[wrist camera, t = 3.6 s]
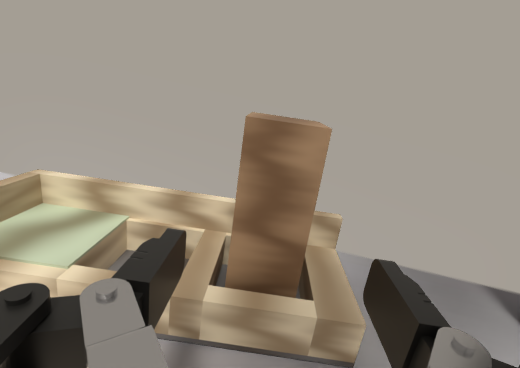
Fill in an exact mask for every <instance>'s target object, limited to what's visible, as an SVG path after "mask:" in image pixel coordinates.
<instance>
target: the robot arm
mask: <svg viewBox="0 0 520 368" xmlns="http://www.w3.org/2000/svg"><path fill="white" fill-rule="evenodd" d="M185 250H186V231H185V230H178V229H172V228H167V229H166V231H165V232H164V233H163V234H162V236H161V237H160V238H151V239H149V240H147V241H145V242H143V243H142V244H141V245H140V246H139V247H138V248H137V250H136V252H134V253H133V254H132V255H131V256H130V258H129V259H128V260H127V261H126V262H125V263H124V264H123V265H122V266H121V267H120V269H119V270H118V271H117V272H116V273H115V274H114V275H113V276H112V278H109V279H103V280H99V281H97V282H94V283H92V284H90V285H89V286H87V287H86V288H85V289H84V290H83V291H82V293H81V295H75V296H63V297H50V290H49V288H48V287H47V286H46V285H44V284H40V283H25V284H19V285H15V286H12V287H9V288H7V289H5V290H2V291H0V368H168V365H167V362H166V360H165V357H164V355H163V352H162V349H161V347H160V344H159V342H158V339H157V336H156V334H155V331H154V329H155V327H156V325H157V323H158V322H159V320H160V318H161V316H162V314H163V312H164V310H165V308H166V306H167V304H168V302H169V300H170V298H171V296H172V294H173V292H174V290H175V288H176V286H177V284H178V282H179V280H180V278H181V276H182V273H183V269H184V264H185ZM363 299H364V305H365V307H366V309H367V312H368V314H369V316H370V319H371V321H372V323H373V325H374V328H375V330H376V332H377V334H378V337H379V339H380V341H381V343H382V346H383V348H384V350H385V353H386V355H387V357H388V359H389V362H390V364H391V366H392V368H517V367H514V366H511V365H509V364H506V363H503V362H501V361H498V360H495V359H493V358H491V356H490V354H489V352H488V351H487V349H486V348H485V347H484V346H483V345H482V344H481V343H480V342H479V341H477V340H476V339H475V338H473V337H472V336H470V335H468V334H467V333H465V332H463V331H460V330H458V329H455V328H451V326H450V325H449V324H448V323H447V321H446V320H445V319H444V317H443V316H442V315H441V314H440V312H439V311H438V310H437V308H436V307H435V306H434V304H433V303H431V301H430V299H429V298H428V297H427V296H426V295H425V293H424V292H423V290H422V289H421V288H420V286H419V285H418V284H417V283H416V282H414V281H413V280H412V279H410V278H409V277H408V276H406V275H404V274H403V272H402V271H401V270H400V268H399V267H398V266H397V264H396V263H395V262H392V261H386V260H379V259H375V260H374V261H373V262H372V265H371V268H370V272H369V275H368V278H367V282H366V285H365V288H364V293H363ZM518 368H520V365H519V367H518Z"/></svg>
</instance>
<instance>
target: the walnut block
mask: <svg viewBox="0 0 520 368" xmlns="http://www.w3.org/2000/svg"><path fill="white" fill-rule="evenodd" d="M331 132H332V129H331V128H329V127H327V126H325V125H323V124H322V123H320V122H316V121H309V120H302V119H296V118H289V117H282V116H276V115H269V114H262V113H255V112H252V113H250V114H249V115H247V116H246V119H245V128H244V136H243V144H242V152H241V161H240V168H239V176H238V185H237V193H236V201H235V209H234V217H233V225H232V233H231V241H230V249H229V257H228V265H227V274H226V282H225V288H231V289H238V290H244V291H251V292H258V293H264V294H271V295H277V296H284V297H291V298H296V294H297V289H298V284H299V280H300V275H301V271H302V266H303V261H304V257H305V252H306V247H307V243H308V238H309V234H310V229H311V224H312V220H313V215H314V210H315V205H316V201H317V196H318V191H319V187H320V182H321V178H322V173H323V168H324V164H325V159H326V155H327V150H328V145H329V141H330V136H331Z"/></svg>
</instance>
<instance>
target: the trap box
mask: <svg viewBox="0 0 520 368" xmlns="http://www.w3.org/2000/svg"><path fill="white" fill-rule="evenodd" d="M235 201H236V199H233V198H226V197H219V196H212V195H206V194H199V193H192V192H186V191H179V190H173V189H166V188H158V187H153V186H145V185H139V184H133V183H125V182H119V181H113V180H106V179H99V178H92V177H86V176H79V175H72V174H66V173H59V172H52V171H46V170H39V169H37V170H34V171H31V172H27V173H24V174H21V175H17V176H14V177H11V178H7V179H4V180H1V181H0V291H2V290H5V289H7V288H9V287H12V286H15V285H19V284H25V283H40V284H44V285H46V286H47V287H48V288H49V290H50V297H63V296H75V295H81V293H82V291H83V290H84V289H85V288H86V287H87V286H89V285H90V284H92V283H94V282H97V281H99V280H103V279H109V278H112V276H113V275H114V274H115V273H116V272H117V271H118V270H119V269H120V267H121V266H122V265H123V264H124V263H125V262H126V261H127V260H128V259H129V258H130V256H131V255H132V254H133V253H134V252H136V250H137V248H138V247H139V246H140V245H141V244H142V243H143V242H145V241H147V240H149V239H151V238H160V237H161V236H162V234H163V233H164V232H165V231H166V229H167V228H172V229H178V230H185V231H186V250H185V264H184V269H183V273H182V276H181V278H180V280H179V282H178V284H177V286H176V288H175V290H174V292H173V294H172V296H171V298H170V300H169V302H168V304H167V306H166V308H165V310H164V312H163V314H162V316H161V318H160V320H159V322H158V323H157V325H156V327H155V329H154V331H155V334H156V336H157V338H160V339H167V340H173V341H180V342H186V343H193V344H200V345H206V346H213V347H219V348H226V349H233V350H239V351H246V352H252V353H259V354H266V355H272V356H279V357H285V358H292V359H299V360H305V361H312V362H318V363H325V364H332V365H338V366H345V367H351V368H353V366H354V363H355V360H356V357H357V353H358V350H359V347H360V344H361V341H362V338H363V335H364V331H365V328H366V323H365V321H364V318H363V316H362V314H361V311H360V309H359V306H358V304H357V301H356V299H355V296H354V294H353V291H352V289H351V287H350V284H349V282H348V279H347V277H346V274H345V272H344V269H343V267H342V264H341V262H340V260H339V257H338V255H337V252H336V250H335V248H336V244H337V240H338V236H339V232H340V228H341V224H342V217H341V215H340V214H332V213H326V212H320V211H314V215H313V220H312V224H311V229H310V234H309V238H308V243H307V247H306V252H305V257H304V261H303V266H302V271H301V275H300V280H299V284H298V289H297V294H296V298H291V297H284V296H277V295H271V294H264V293H258V292H251V291H244V290H238V289H231V288H225V282H226V274H227V265H228V257H229V249H230V241H231V233H232V225H233V217H234V209H235Z"/></svg>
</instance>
